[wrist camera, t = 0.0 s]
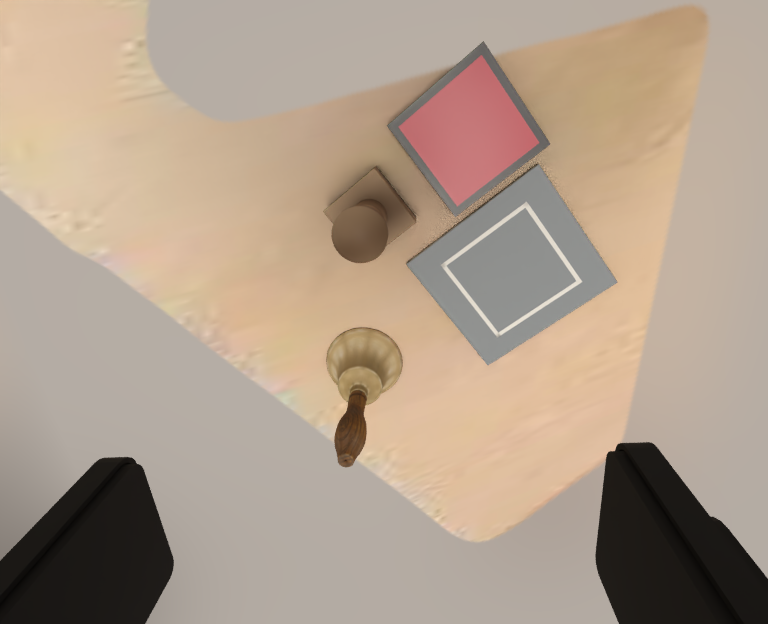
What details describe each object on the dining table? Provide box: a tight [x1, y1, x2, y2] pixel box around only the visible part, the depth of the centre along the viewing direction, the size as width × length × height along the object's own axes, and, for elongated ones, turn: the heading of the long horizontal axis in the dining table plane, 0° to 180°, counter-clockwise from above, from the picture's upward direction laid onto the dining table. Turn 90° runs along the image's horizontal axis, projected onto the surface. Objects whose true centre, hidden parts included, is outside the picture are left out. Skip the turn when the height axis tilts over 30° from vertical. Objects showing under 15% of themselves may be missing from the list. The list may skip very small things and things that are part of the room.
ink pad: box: [387, 42, 550, 217], centre depth 40 cm, size 10×10×2 cm
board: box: [406, 164, 617, 365], centre depth 45 cm, size 14×15×1 cm
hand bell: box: [326, 328, 402, 467], centre depth 43 cm, size 8×8×16 cm
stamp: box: [323, 166, 416, 263], centre depth 39 cm, size 6×6×11 cm
